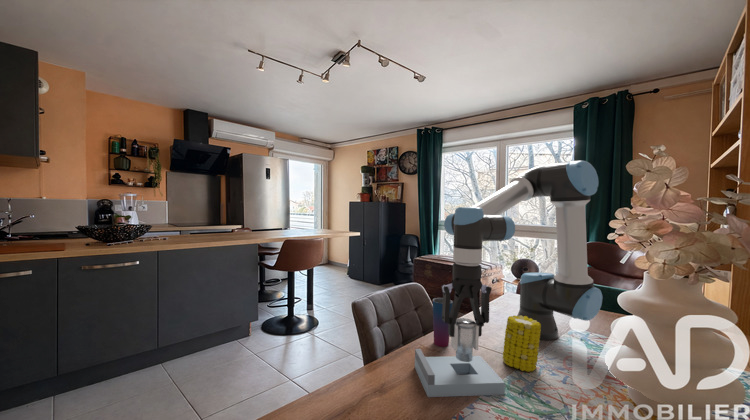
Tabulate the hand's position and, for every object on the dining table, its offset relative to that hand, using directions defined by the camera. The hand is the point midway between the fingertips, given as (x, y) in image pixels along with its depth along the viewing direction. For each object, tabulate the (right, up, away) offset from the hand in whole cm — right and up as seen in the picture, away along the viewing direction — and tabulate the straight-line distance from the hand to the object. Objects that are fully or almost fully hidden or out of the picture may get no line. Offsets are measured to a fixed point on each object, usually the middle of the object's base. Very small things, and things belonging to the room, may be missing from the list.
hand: (464, 347), depth 82 cm
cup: (-2, -9, +22) cm, 24 cm away
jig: (-2, -9, 0) cm, 9 cm away
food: (+20, -10, +9) cm, 24 cm away
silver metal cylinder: (0, -3, 0) cm, 3 cm away
